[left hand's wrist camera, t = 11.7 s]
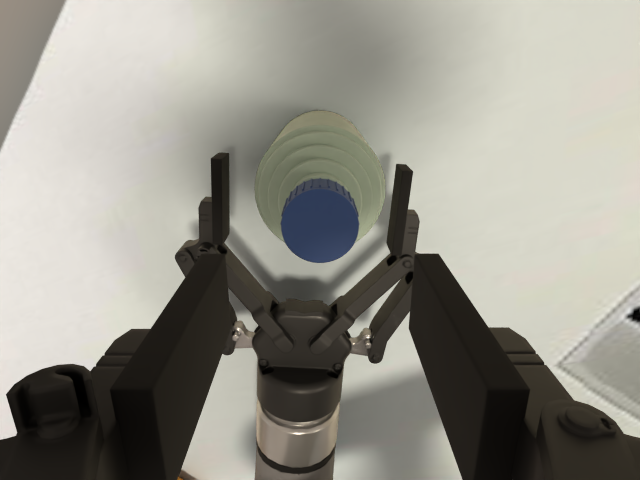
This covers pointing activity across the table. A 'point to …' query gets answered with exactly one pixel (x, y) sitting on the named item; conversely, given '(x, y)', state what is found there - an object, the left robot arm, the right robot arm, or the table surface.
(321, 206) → the cap
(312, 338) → the right robot arm
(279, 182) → the bottle
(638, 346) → the table surface
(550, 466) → the left robot arm
